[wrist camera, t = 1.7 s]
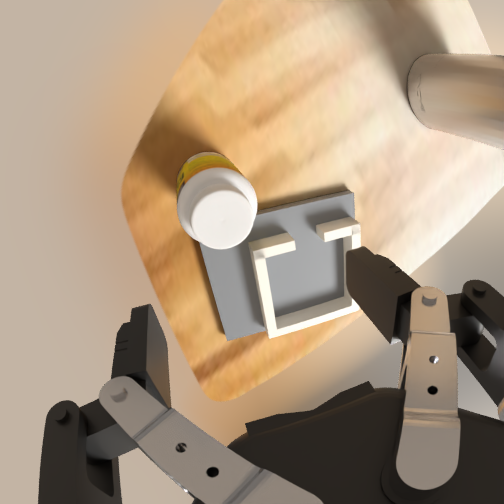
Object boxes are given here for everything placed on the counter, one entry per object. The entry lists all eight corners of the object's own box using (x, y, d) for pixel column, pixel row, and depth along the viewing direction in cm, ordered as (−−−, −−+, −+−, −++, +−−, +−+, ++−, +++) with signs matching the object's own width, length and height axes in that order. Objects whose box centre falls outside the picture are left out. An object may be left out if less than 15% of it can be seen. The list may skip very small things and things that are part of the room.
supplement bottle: (172, 155, 27) (170, 183, 18) (234, 147, 28) (264, 170, 19) (180, 214, 30) (185, 267, 21) (239, 205, 31) (269, 253, 22)
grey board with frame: (349, 190, 32) (363, 198, 30) (351, 297, 39) (362, 311, 36) (195, 226, 30) (197, 239, 28) (225, 335, 37) (230, 352, 34)
